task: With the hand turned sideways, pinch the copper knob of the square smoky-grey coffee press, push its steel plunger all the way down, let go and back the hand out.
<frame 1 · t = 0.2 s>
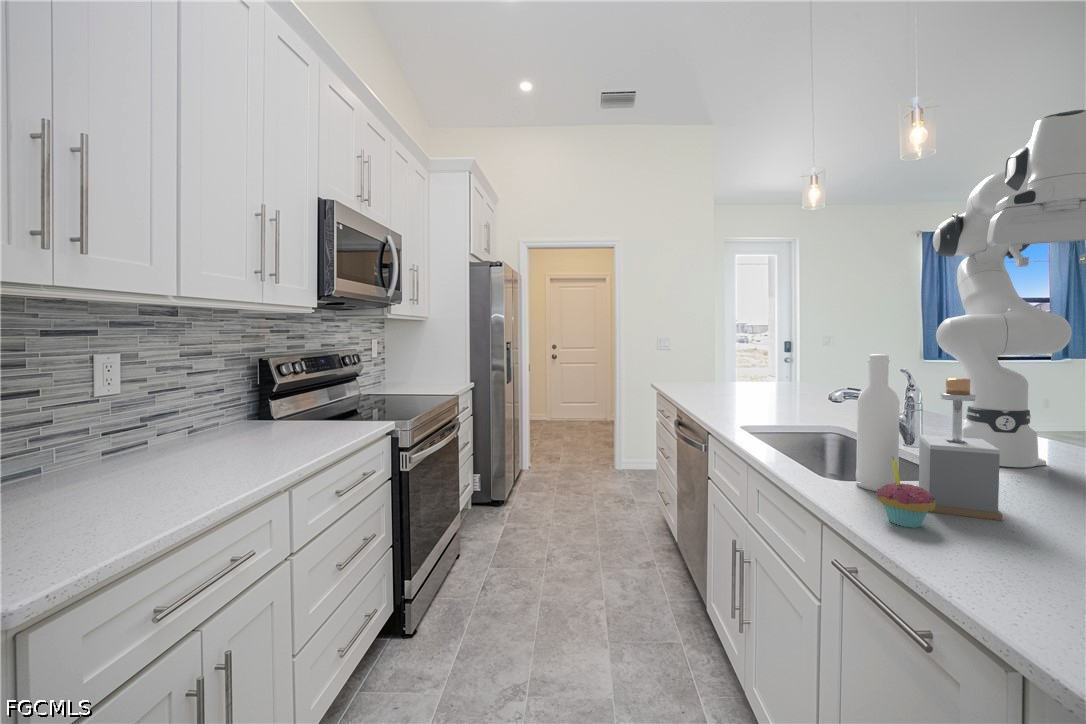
hand: (1053, 264, 96), 48 cm above the countertop, tool pointing down, fingers open, 8 cm apart
press: (955, 506, 94), on the countertop
plunger: (957, 424, 93), point 17 cm above the countertop, slide at 6.0 cm
cupcake: (905, 523, 87), on the countertop
bottle: (876, 487, 107), on the countertop
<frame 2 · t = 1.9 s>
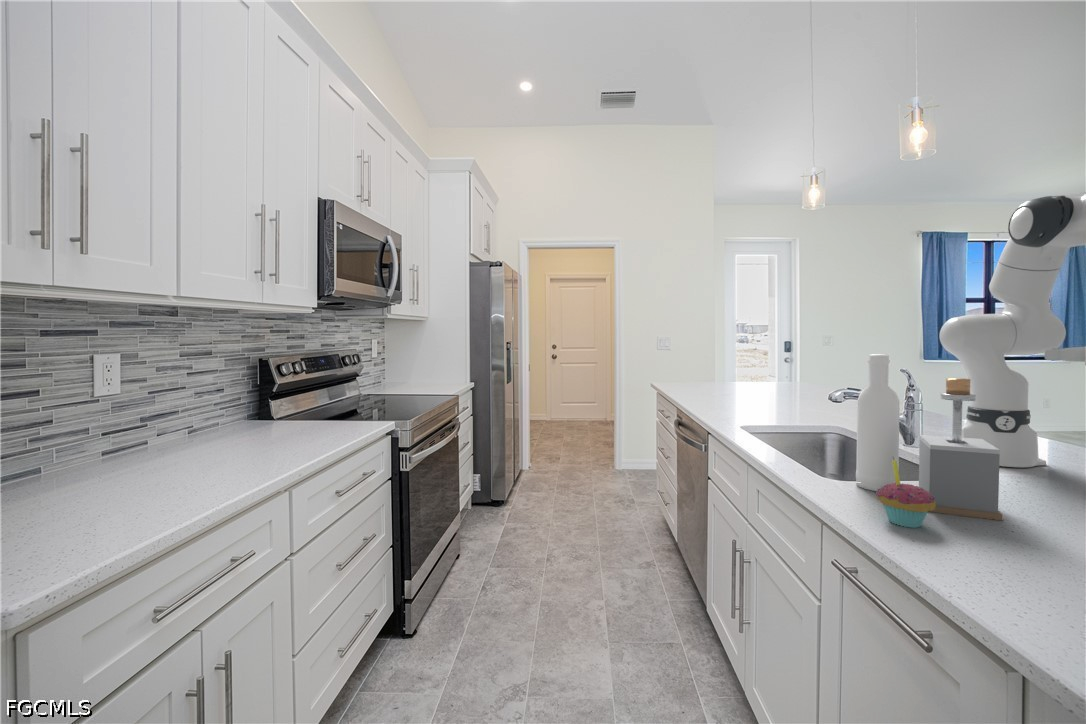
hand: (1047, 353, 83), 31 cm above the countertop, tool horizontal, fingers open, 8 cm apart
nothing on the countertop moved.
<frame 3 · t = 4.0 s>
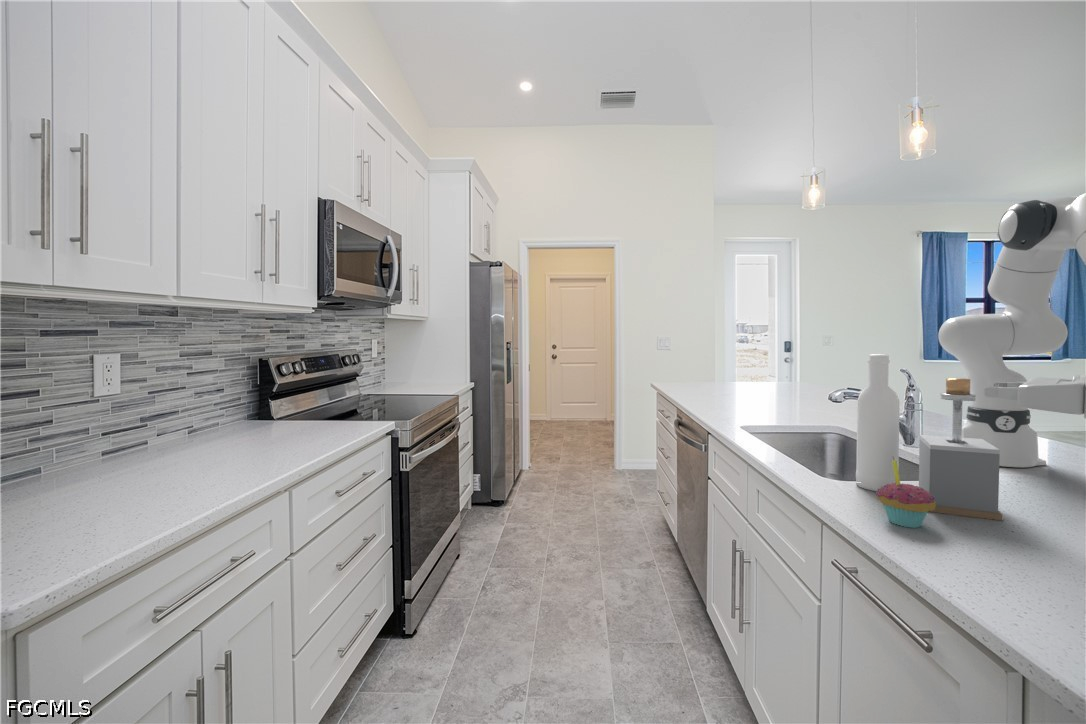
hand: (989, 389, 89), 24 cm above the countertop, tool horizontal, fingers open, 8 cm apart
nothing on the countertop moved.
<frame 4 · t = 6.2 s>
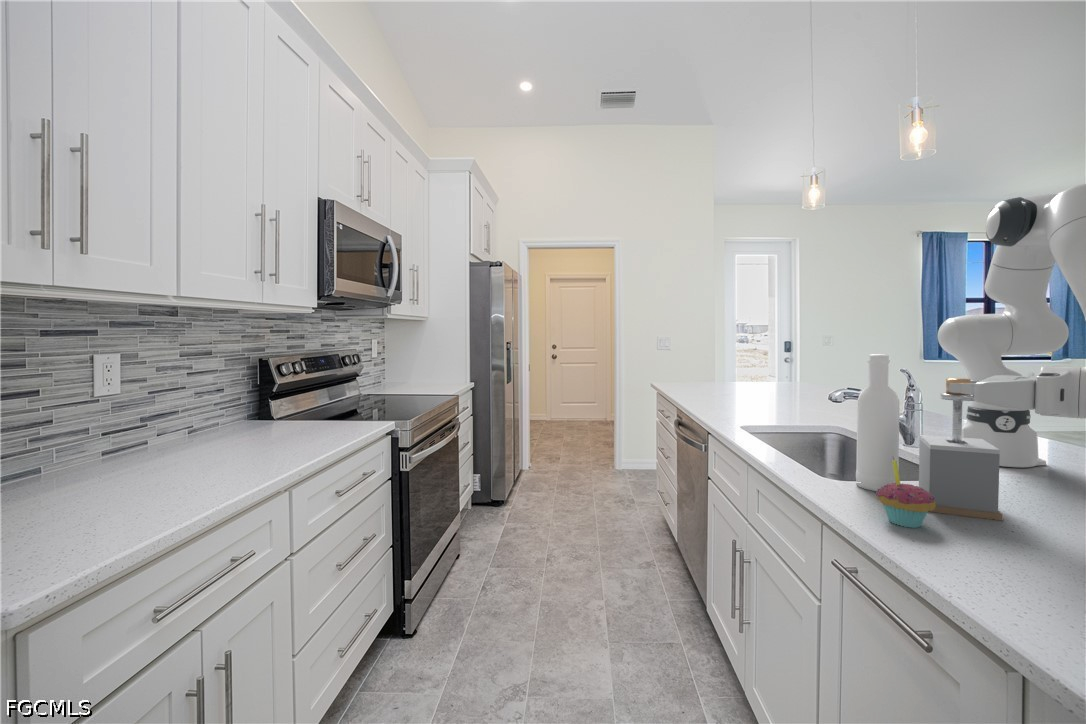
hand: (952, 386, 93), 24 cm above the countertop, tool horizontal, fingers closed on plunger, 4 cm apart
plunger: (957, 424, 93), point 17 cm above the countertop, slide at 6.0 cm, touching gripper
everything else where it was.
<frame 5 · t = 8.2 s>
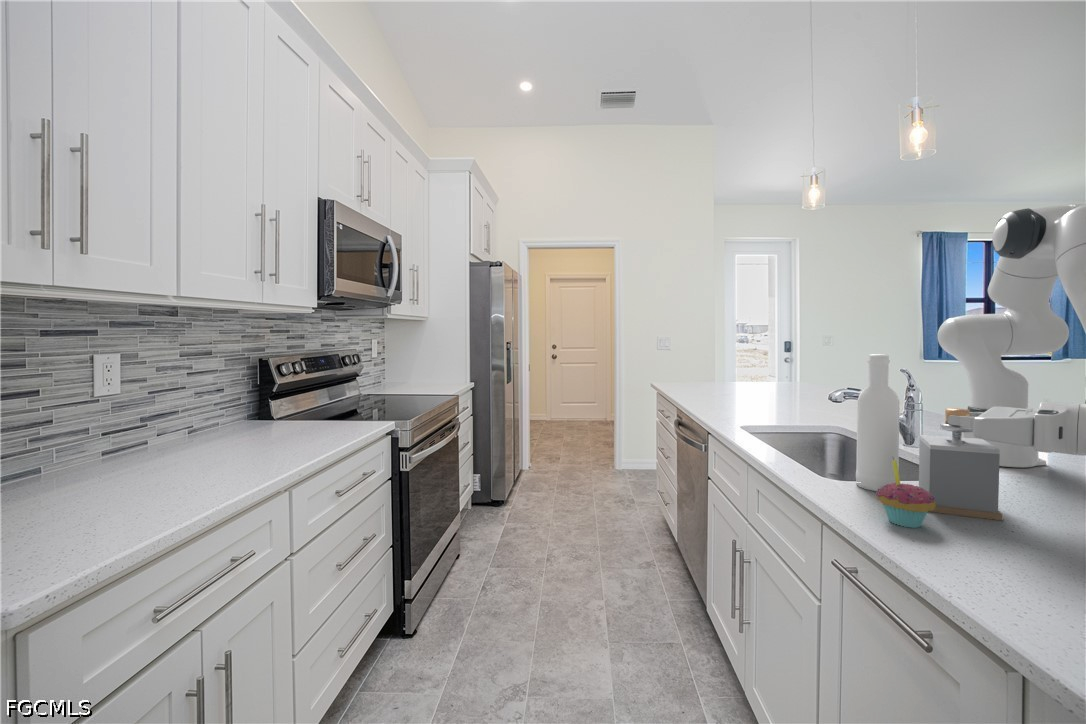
hand: (951, 417, 94), 18 cm above the countertop, tool horizontal, fingers closed on plunger, 4 cm apart
plunger: (956, 454, 93), point 10 cm above the countertop, slide at -0.1 cm, touching gripper
everything else where it was.
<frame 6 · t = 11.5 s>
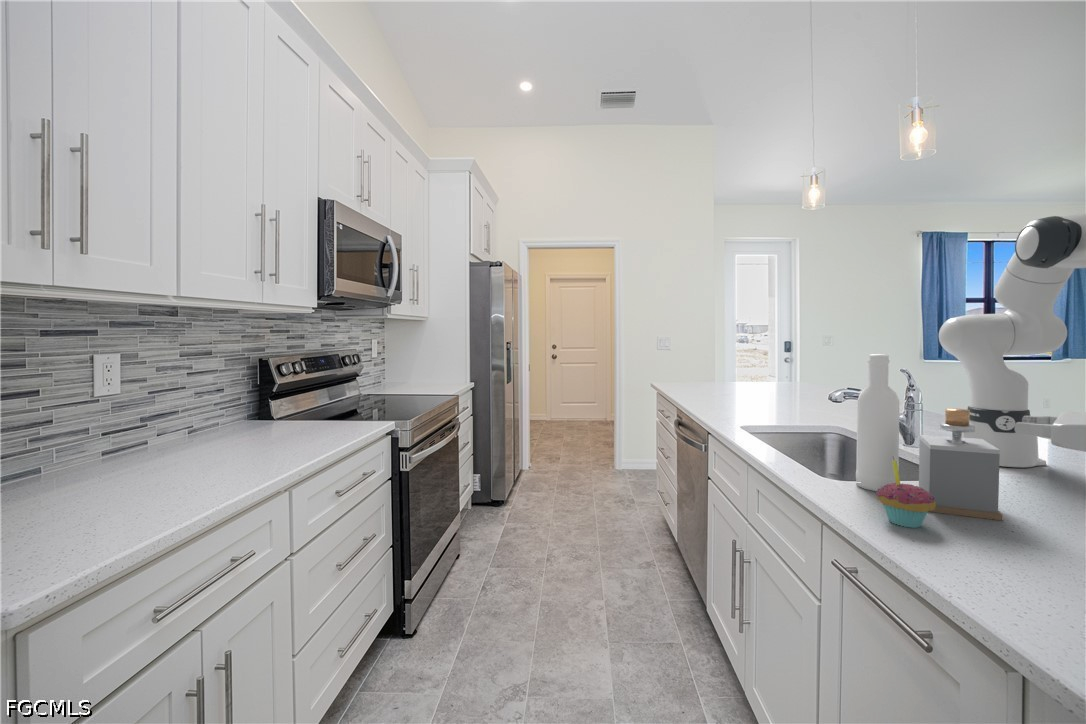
hand: (1018, 423, 86), 18 cm above the countertop, tool horizontal, fingers open, 8 cm apart
plunger: (956, 454, 93), point 10 cm above the countertop, slide at -0.1 cm
everything else where it was.
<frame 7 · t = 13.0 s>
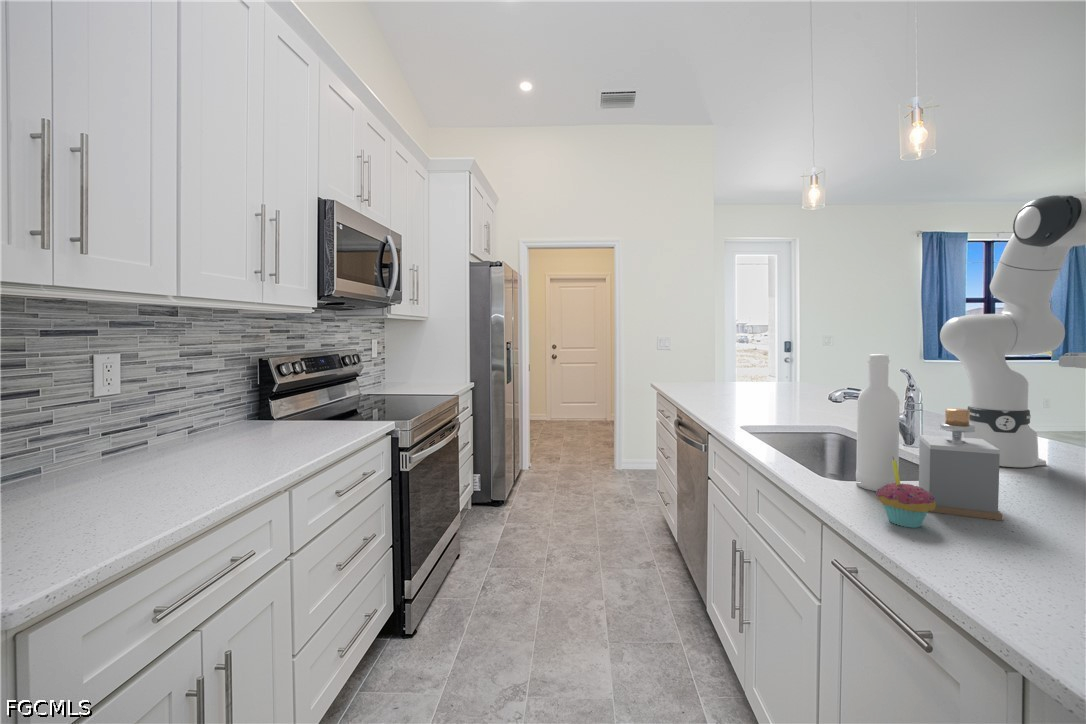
hand: (1061, 359, 84), 29 cm above the countertop, tool horizontal, fingers open, 8 cm apart
nothing on the countertop moved.
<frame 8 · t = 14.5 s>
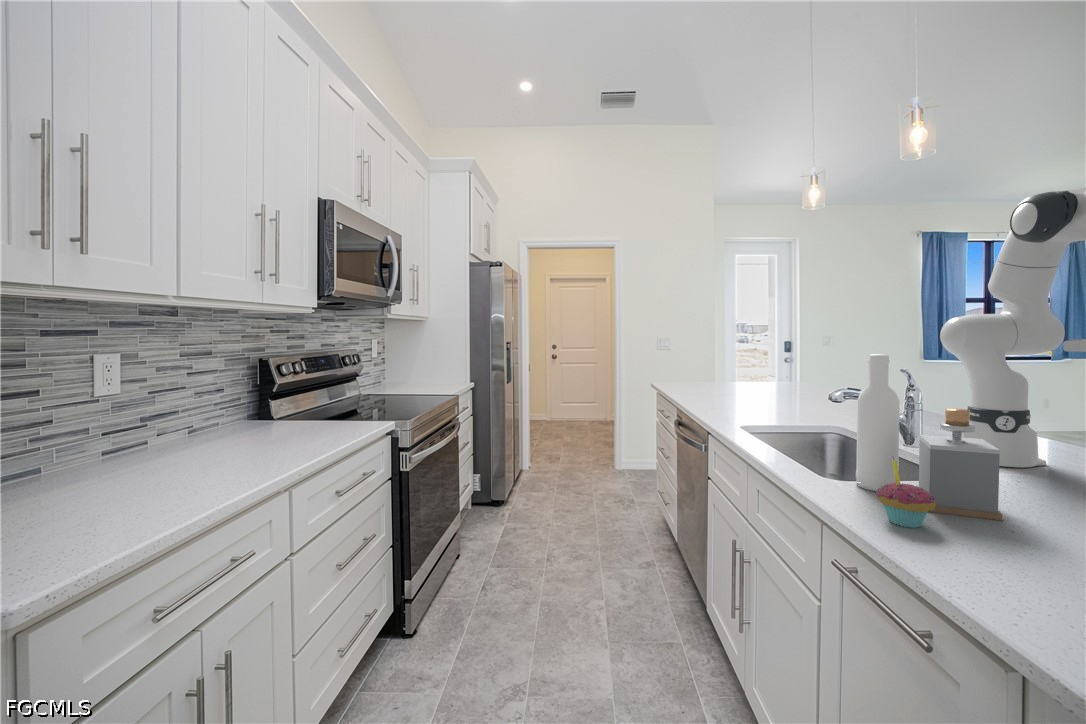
hand: (1065, 345, 84), 32 cm above the countertop, tool horizontal, fingers open, 8 cm apart
nothing on the countertop moved.
at the end: plunger slide at -0.1 cm; the gripper is holding nothing; cupcake moved 0.2 cm from its start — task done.
